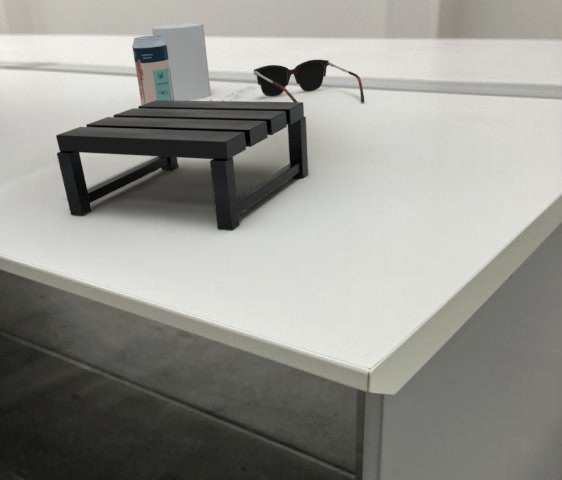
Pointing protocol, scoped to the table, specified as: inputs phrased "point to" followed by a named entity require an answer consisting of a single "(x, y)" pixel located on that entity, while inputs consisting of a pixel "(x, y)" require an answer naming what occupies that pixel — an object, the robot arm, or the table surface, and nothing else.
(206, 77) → the cup
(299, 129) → the rack
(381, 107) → the table surface
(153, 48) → the beer can
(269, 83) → the sunglasses
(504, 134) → the table surface
